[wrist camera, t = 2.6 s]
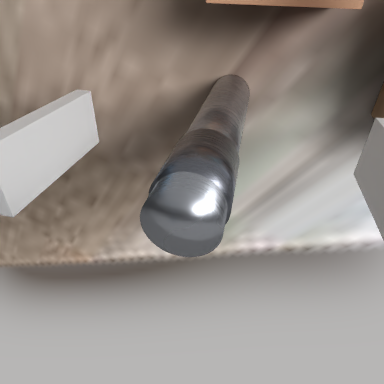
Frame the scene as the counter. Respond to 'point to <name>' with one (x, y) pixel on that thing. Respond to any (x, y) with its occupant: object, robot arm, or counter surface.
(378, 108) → the block
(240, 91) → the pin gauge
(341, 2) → the block
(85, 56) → the counter surface
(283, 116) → the counter surface
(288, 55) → the counter surface
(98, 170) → the counter surface
